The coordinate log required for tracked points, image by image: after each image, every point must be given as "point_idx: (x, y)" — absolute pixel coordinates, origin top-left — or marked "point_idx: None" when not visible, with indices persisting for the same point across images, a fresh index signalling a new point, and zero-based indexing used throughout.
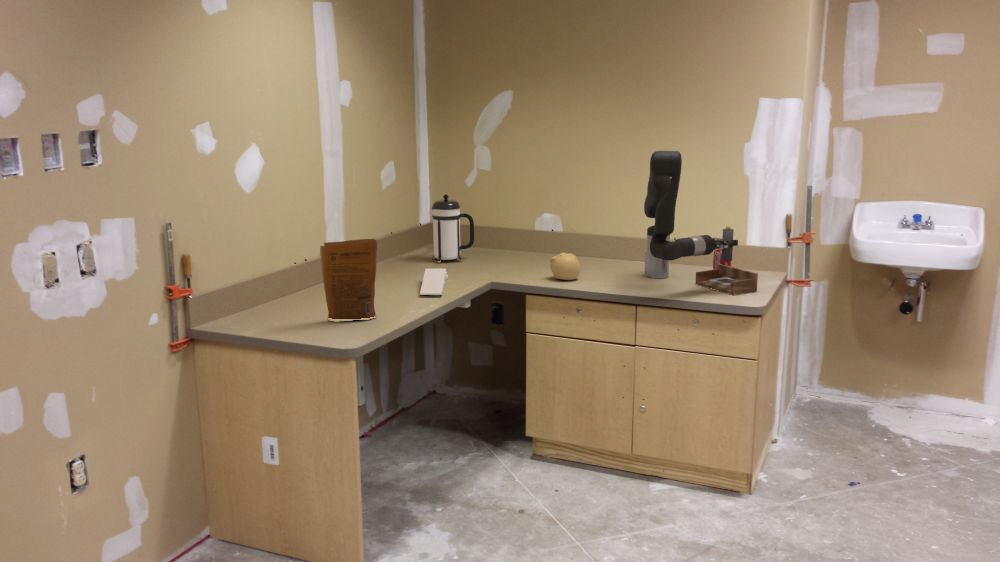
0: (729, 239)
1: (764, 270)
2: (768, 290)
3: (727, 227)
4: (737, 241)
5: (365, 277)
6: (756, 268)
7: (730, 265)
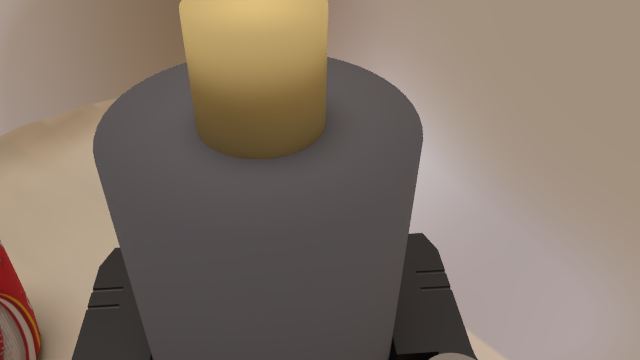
0: (389, 336)
1: (84, 125)
2: (488, 355)
3: (291, 87)
4: (431, 243)
5: None
6: (28, 127)
7: (17, 277)
